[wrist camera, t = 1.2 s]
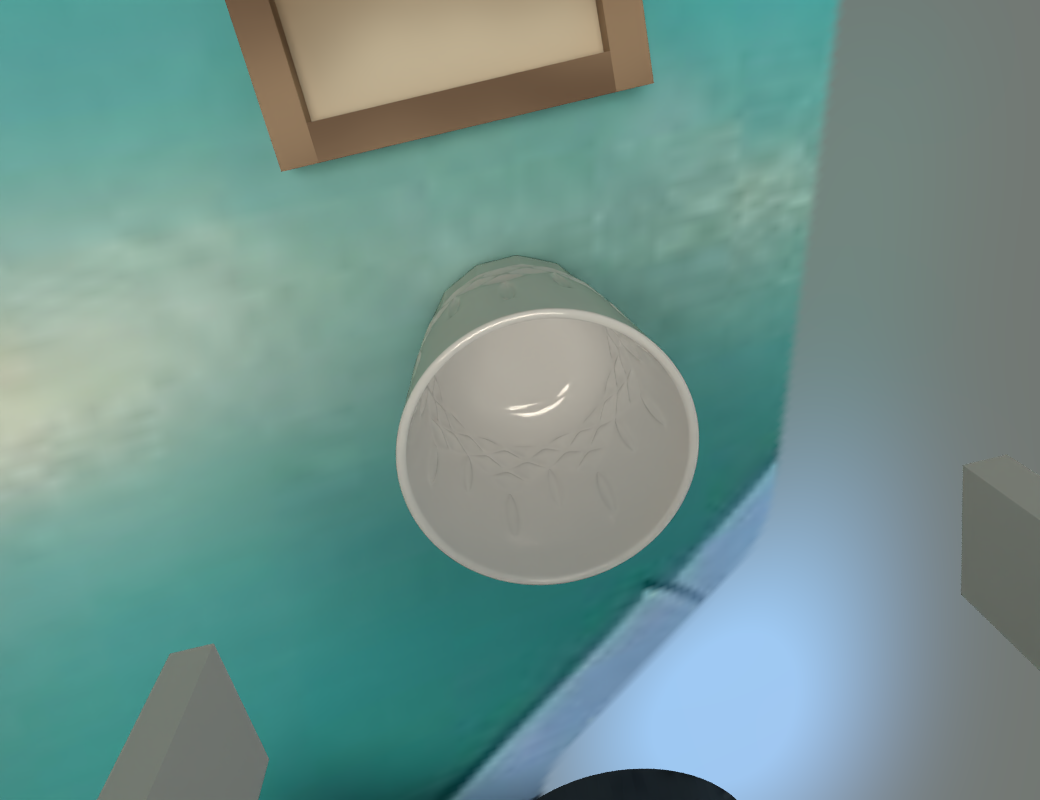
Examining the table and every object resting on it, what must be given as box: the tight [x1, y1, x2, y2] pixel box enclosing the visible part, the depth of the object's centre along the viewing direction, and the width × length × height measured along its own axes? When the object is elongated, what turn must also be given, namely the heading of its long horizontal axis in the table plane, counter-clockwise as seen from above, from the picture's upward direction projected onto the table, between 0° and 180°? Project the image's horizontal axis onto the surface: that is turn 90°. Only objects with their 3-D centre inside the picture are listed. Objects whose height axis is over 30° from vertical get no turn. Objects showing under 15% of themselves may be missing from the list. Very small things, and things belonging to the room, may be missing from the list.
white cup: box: [396, 255, 699, 585], centre depth 24 cm, size 8×8×10 cm
